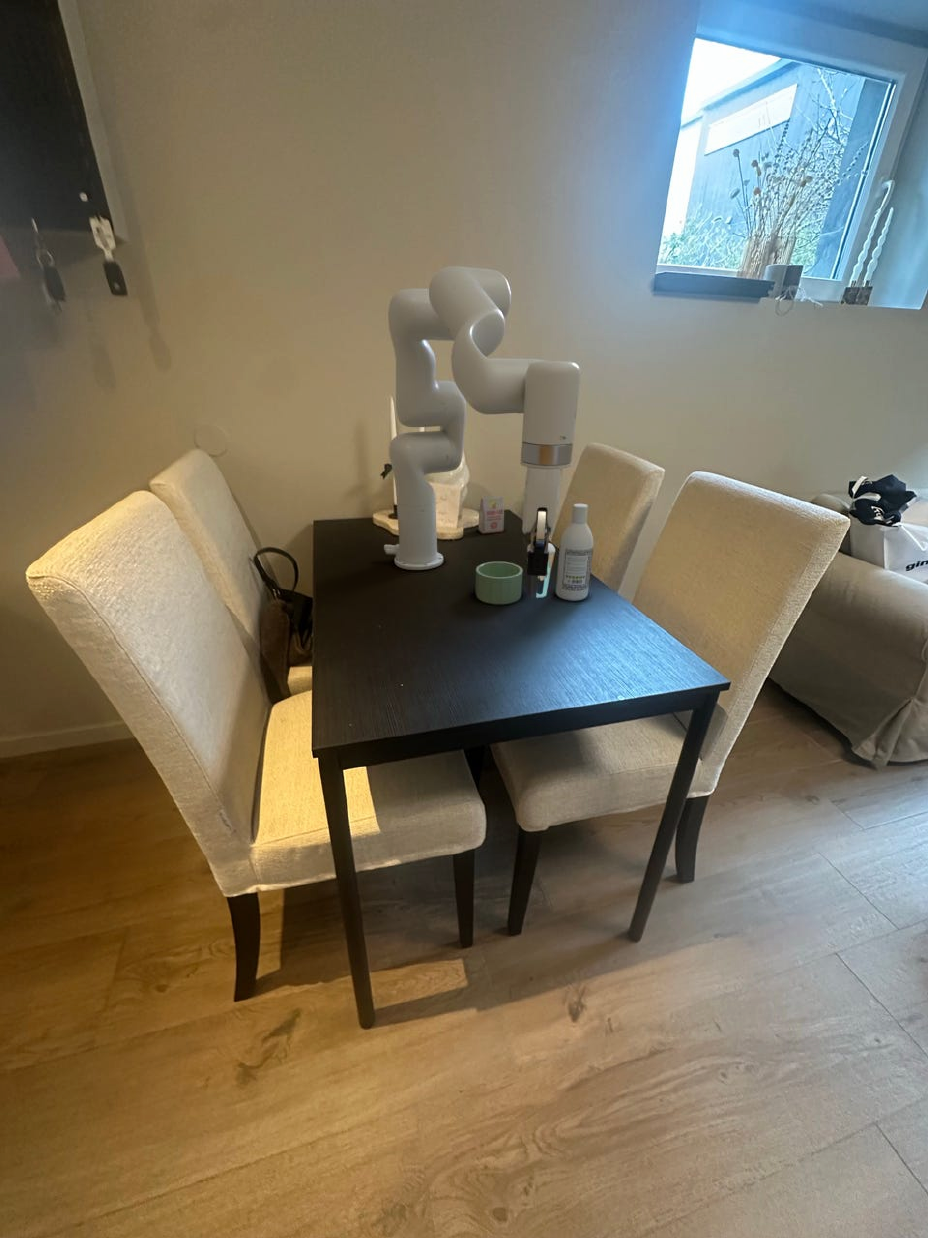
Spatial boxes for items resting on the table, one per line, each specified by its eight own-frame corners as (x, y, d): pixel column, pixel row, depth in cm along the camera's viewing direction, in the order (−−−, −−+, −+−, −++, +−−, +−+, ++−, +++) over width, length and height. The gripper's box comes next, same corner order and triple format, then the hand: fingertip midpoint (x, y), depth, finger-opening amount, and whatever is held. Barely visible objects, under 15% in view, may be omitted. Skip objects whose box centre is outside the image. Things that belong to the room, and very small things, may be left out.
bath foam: (593, 598, 108) (605, 507, 99) (565, 603, 106) (574, 510, 97) (576, 587, 114) (586, 499, 105) (549, 591, 112) (557, 502, 103)
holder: (473, 603, 106) (473, 576, 104) (478, 584, 115) (478, 560, 112) (520, 605, 105) (521, 579, 102) (521, 587, 114) (523, 562, 111)
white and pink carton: (478, 530, 154) (479, 497, 149) (498, 528, 156) (499, 496, 151) (482, 533, 151) (483, 500, 146) (503, 531, 153) (504, 498, 148)
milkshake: (516, 588, 86) (520, 533, 81) (547, 587, 87) (552, 532, 82) (521, 600, 82) (525, 542, 78) (553, 599, 83) (559, 542, 78)
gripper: (522, 444, 82) (516, 550, 90) (518, 464, 67) (511, 588, 75) (569, 446, 81) (558, 552, 89) (575, 466, 66) (561, 591, 75)
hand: (536, 567), depth 82 cm, fingers closed on milkshake, 4 cm apart
